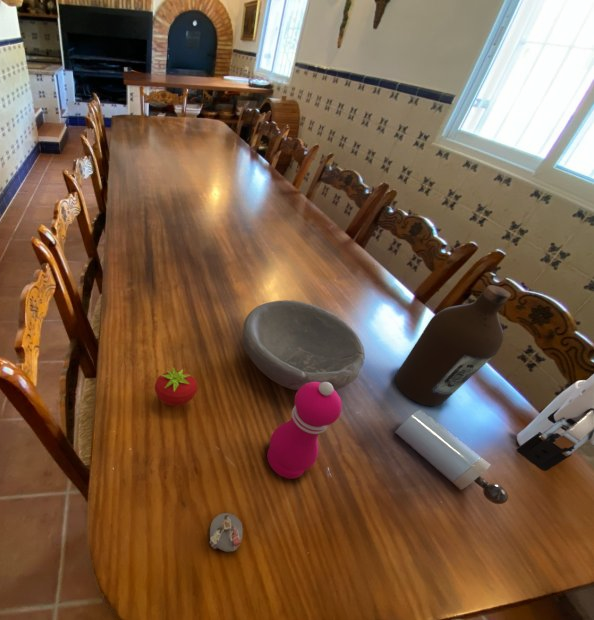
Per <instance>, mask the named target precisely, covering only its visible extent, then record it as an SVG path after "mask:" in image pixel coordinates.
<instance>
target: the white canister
mask: <svg viewBox="0 0 594 620" xmlns="http://www.w3.org/2000/svg"><path fill="white" fill-rule="evenodd" d="M395 434H396V435H397V436H398V437H399V438H400V439H402V440H403V441H404V443H406V444H407V445H409V446H410V447H411V448H412V449H413V450H414V451H415V452H417V453H418V454H419V455H420V456H421V458H424V460H426V461H427V462H428V463H429V464H430V465H431V466H432V467H434V468H435V469H436V471H438V472H439V473H441V475H443V476H444V477H445V478H446V479H447V480H448V481H450V482H451V483H452V484H453V485H454V486H455V487H456V488H457V489H458V490H459V491H463V490H464V489H465V488H467V487H468V486H469V485H472V483H475V484H476V485H478V486H479V487H480V488H481V489H482V493H483V496H484V497H485V499H486V500H487V501H489V502H490V503H492V504H494V505H503V504H506V503H507V502H508V498H509V496H508V493H507V491H506V490H505V488H504V487H502V486H501V485H499V484H497V483H490V482H488V481H487V480H485V479H484V478H483V477H482V476H481V475H483V474H484V473H485V472H486V471H487V470H488V469H489V468H491V465H492V464H491V463H489V462H488V460H485V459H484V458H483V457H482V456H481V455H480V454H478V453H477V452H476V451H474V450H473V449H472V448H471V447H469V446H468V445H467V444H466V443H464V442H463V441H462V440H460V439H459V438H458V437H457V436H456V435H454V434H453V433H452V432H450V431H449V430H448V429H447V428H445V427H444V426H443V425H442V424H441V423H439V422H438V421H436V420H435V419H434V418H433V417H432V416H430V415H429V414H428V413H426V412H425V411H424V410H423V409H418V410H416V411H415V412H414V413H413V414H411V415H410V416H409V417H407V419H405V420H404V422H402V424H400V425H399V427H398V428H397V429H396V430H395Z"/></svg>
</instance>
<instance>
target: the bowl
mask: <svg viewBox="0 0 594 620" xmlns="http://www.w3.org/2000/svg"><path fill="white" fill-rule="evenodd" d="M242 341H243V346H244V349H245V351H246V353H247V356H248V357H249V358H250V360H251V361H252V363H253V364H254V365H255V367H256V368H257V369H258V370H259V371H260V372H261V373H262V374H263V375H264V376H266V377H267V378H268V379H269V380H271V381H272V382H274V383H276V384H278V385H280V386H281V387H284V388H287V389H290V390H293V391H298V390H299V389H300V388H301V387H302V386H303V385H305V384H307V383H310V382H320V383H323V382H329V383H330V384H331V385H332V386H333V389H334V390H335V391H336V390H340V389H342V388H344V387H346V386H348V385H350V384H352V382H354V381H356V380H357V378H359V375H360V373H361V369H362V367H363V365H364V362H365V357H366V354H365V349H364V345H363V343H362V341H361V339H360V337H359V336H358V334H357V333H356V331H354V330H353V328H352V327H351V326H350V325H349V324H348V323H347V322H345V320H343V319H342V318H340V317H339V316H337V315H335V314H334V313H332V312H331V311H329V310H326V309H324V308H322V307H320V306H317V305H314V304H311V303H306V302H303V301H298V300H284V299H283V300H275V301H269V302H264V303H262V304H260V305H258V306H256V307H255V308H253V309H252V310H251V311H250V312H249V313H248V314H247V316H246V317H245V319H244V321H243V325H242Z"/></svg>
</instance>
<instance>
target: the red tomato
mask: <svg viewBox="0 0 594 620" xmlns="http://www.w3.org/2000/svg"><path fill="white" fill-rule="evenodd" d="M154 391H155V394H156V396H157V398H158V400H160V401H161V402H162V403H164V404H165V405H168V406H170V407H178V406H182V405H185V404H187V403H189V402H190V401H191V400H193V398H194V397H195V396H196V394H197V393H198V382H197V380H196V379H195V377H194V376H192V374H189V373H187V372H184V368H182V369H181V370H180V371H179V370H176V369H175V367H174V366H173V367H172V371H169V370H168V369H166V370H165V372H164V373H162V374H160V376H159V377H158V378H157V379H156V381H155V383H154Z"/></svg>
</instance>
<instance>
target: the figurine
mask: <svg viewBox="0 0 594 620" xmlns="http://www.w3.org/2000/svg"><path fill="white" fill-rule="evenodd" d="M209 539H210V541H209V544H210V546H211V548H212V549H214V550H217V549H219V550H220V551H223V552H225V553H229V552H234V551H236V550H237V549H238V548H239V547H240V546H241V543H242V541H243V523H242V521H241V520H240V519H239V518H238V517H237V516H236V515H235V514H233V513H230V512H223V513H220V514H218V515H217V516H215V518H213V520H212V521H211V524H210V528H209Z"/></svg>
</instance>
